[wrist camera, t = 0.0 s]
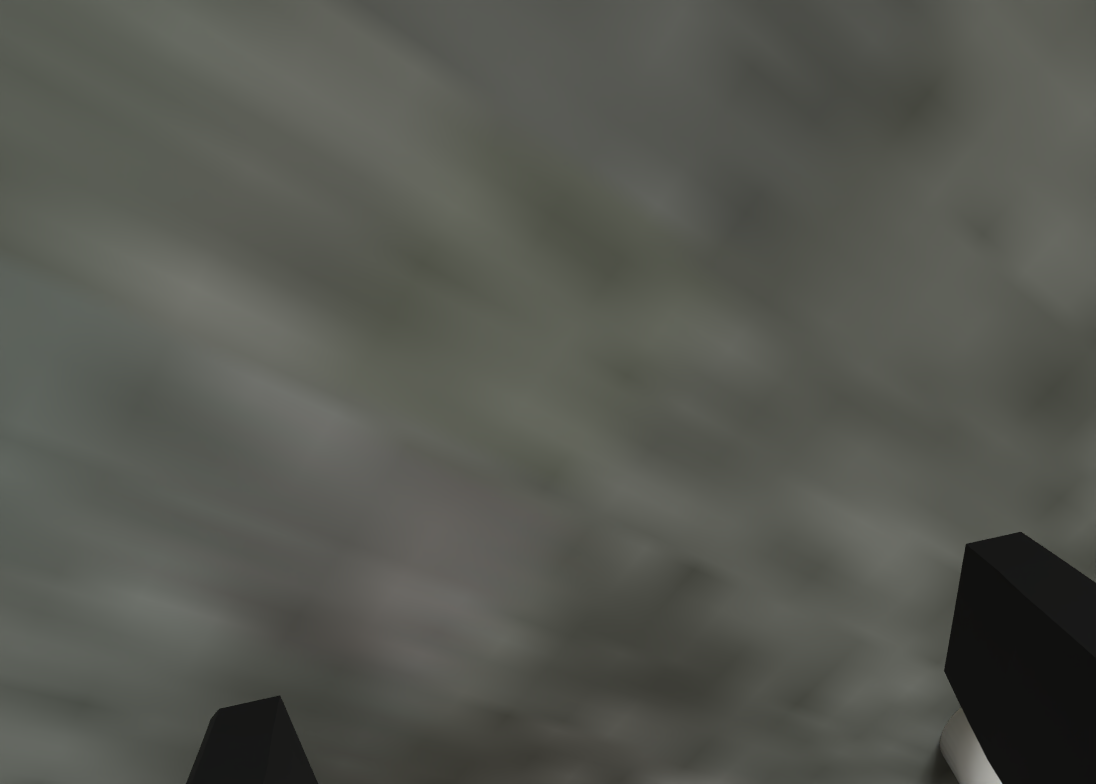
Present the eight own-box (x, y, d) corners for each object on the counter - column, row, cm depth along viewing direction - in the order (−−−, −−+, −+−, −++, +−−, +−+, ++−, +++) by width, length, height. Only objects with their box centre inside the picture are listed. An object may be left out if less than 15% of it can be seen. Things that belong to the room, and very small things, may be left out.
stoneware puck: (1061, 748, 32) (1121, 833, 30) (931, 779, 32) (981, 867, 30) (1087, 658, 30) (1155, 743, 27) (946, 691, 29) (1002, 780, 27)
